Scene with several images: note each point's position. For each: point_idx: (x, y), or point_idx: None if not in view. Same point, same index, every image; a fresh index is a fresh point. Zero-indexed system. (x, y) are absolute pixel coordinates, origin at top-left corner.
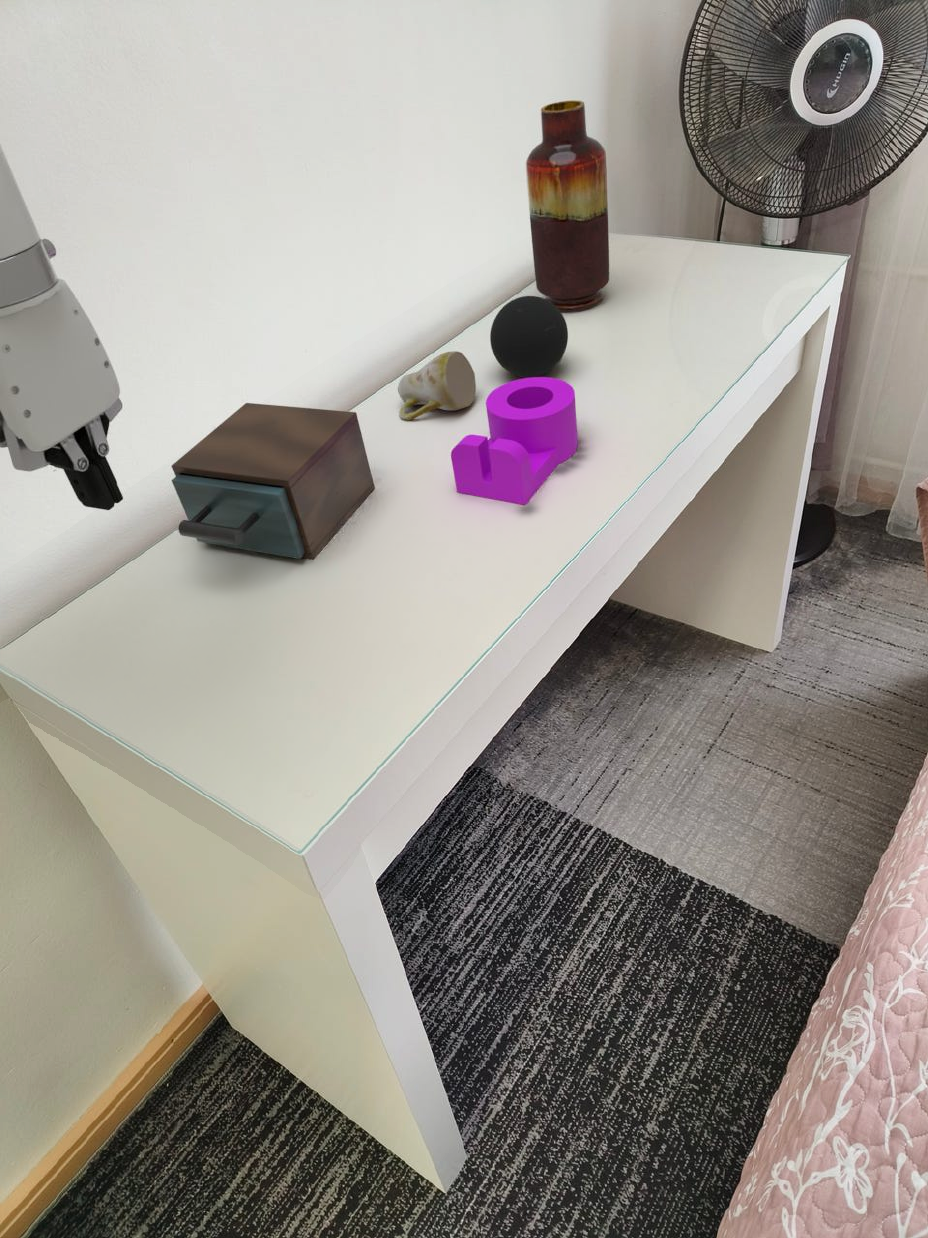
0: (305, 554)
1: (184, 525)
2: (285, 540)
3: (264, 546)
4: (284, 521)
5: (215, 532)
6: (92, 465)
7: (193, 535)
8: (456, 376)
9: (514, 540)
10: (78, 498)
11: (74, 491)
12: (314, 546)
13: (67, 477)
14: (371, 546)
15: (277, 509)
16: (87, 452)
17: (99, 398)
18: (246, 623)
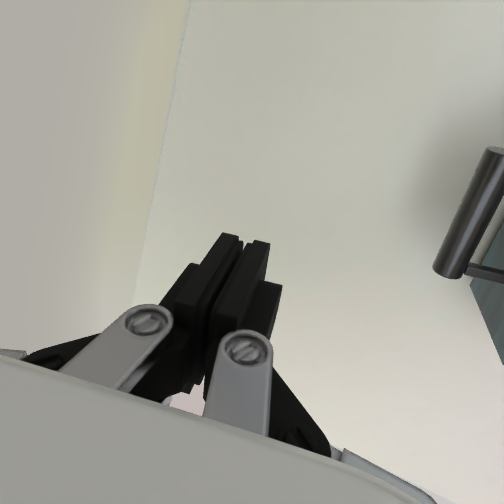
0: None
1: (492, 169)
2: (483, 291)
3: (500, 240)
4: (489, 322)
5: (455, 238)
6: (185, 385)
7: (469, 184)
8: None
9: (477, 466)
10: (189, 265)
11: (180, 275)
12: None
13: (159, 303)
14: None
15: (498, 333)
16: (207, 389)
17: None
18: (343, 240)
